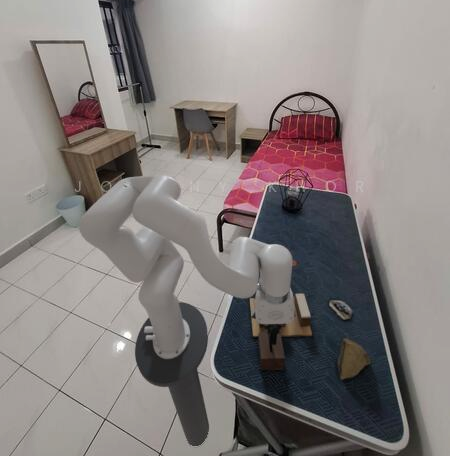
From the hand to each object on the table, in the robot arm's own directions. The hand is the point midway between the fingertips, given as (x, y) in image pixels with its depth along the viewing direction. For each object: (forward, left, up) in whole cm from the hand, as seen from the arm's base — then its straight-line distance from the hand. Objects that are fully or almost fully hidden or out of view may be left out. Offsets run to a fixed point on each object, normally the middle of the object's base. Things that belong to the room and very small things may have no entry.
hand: (272, 328), depth 69 cm
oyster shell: (+28, +14, -16) cm, 35 cm away
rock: (+25, -3, -16) cm, 30 cm away
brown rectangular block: (+13, +12, -15) cm, 23 cm away
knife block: (0, 0, -16) cm, 16 cm away
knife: (0, 0, -12) cm, 12 cm away
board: (+5, +12, -16) cm, 21 cm away
